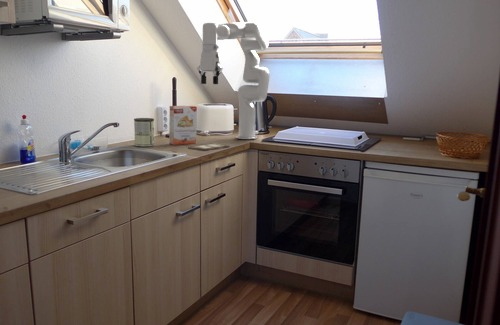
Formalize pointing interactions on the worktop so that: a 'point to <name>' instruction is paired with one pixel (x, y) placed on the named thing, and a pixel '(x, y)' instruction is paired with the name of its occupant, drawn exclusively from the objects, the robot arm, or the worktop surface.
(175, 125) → the cracker box
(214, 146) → the walnut board
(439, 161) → the worktop surface
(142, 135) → the coffee can
